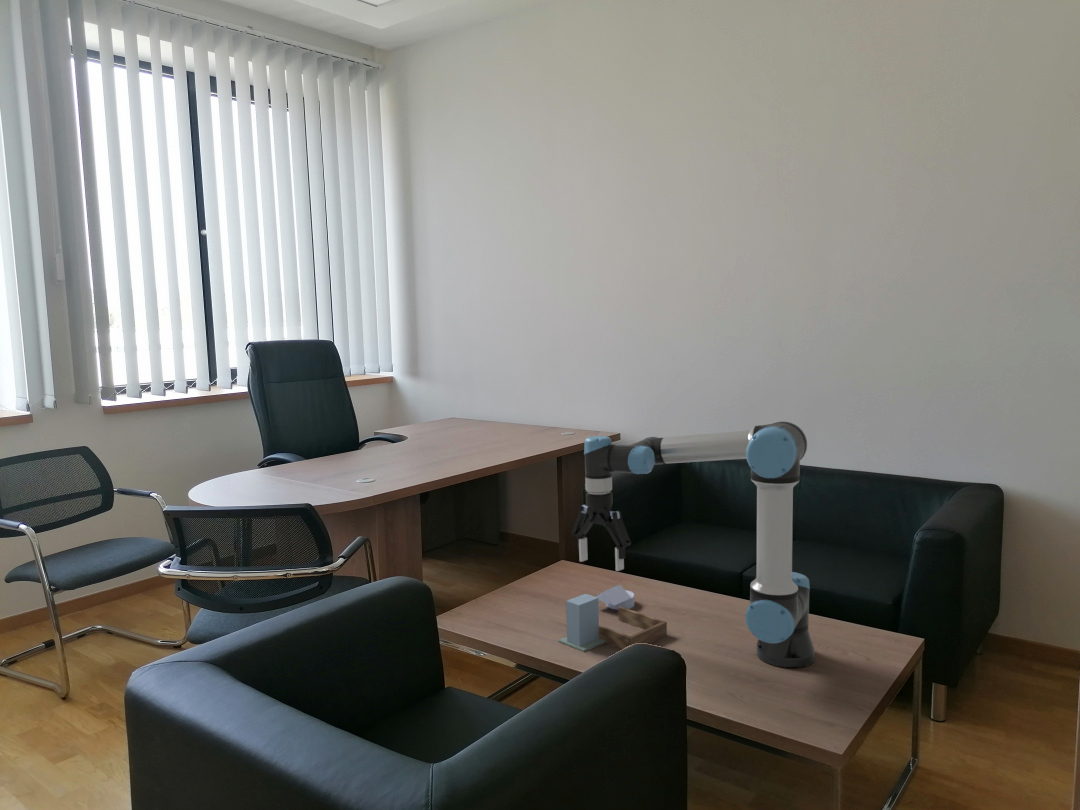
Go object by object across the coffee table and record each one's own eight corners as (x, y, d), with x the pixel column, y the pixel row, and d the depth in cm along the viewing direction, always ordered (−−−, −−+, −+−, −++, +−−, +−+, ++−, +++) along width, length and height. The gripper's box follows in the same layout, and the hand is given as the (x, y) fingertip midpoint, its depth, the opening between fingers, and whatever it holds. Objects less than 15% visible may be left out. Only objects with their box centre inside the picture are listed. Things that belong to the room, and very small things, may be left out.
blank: (598, 638, 227) (598, 597, 225) (579, 646, 221) (579, 605, 220) (586, 633, 230) (585, 593, 229) (566, 641, 225) (566, 600, 224)
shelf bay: (666, 635, 229) (666, 621, 229) (631, 652, 218) (630, 638, 218) (620, 619, 242) (620, 606, 241) (584, 634, 231) (584, 621, 230)
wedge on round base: (614, 615, 245) (640, 604, 254) (614, 594, 244) (639, 583, 253) (592, 608, 251) (617, 597, 260) (592, 588, 250) (617, 577, 259)
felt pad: (607, 641, 226) (607, 639, 226) (583, 651, 219) (583, 650, 219) (582, 631, 233) (582, 629, 233) (558, 641, 226) (558, 639, 226)
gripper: (642, 494, 215) (644, 570, 217) (575, 483, 233) (578, 553, 235) (625, 499, 210) (627, 577, 212) (557, 488, 228) (560, 559, 230)
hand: (601, 565), depth 224 cm, fingers open, 13 cm apart
